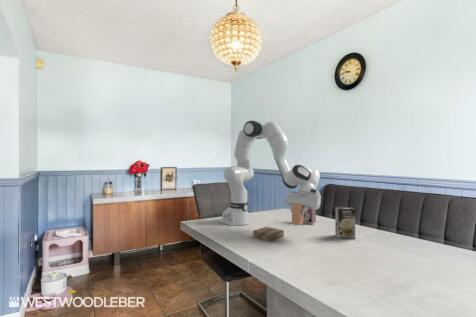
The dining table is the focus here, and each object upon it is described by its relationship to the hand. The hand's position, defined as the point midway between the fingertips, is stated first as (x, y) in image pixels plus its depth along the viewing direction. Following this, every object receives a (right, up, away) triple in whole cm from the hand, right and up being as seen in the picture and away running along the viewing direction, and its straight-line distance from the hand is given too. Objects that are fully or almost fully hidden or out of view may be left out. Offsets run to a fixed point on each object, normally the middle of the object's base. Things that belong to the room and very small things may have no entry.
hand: (297, 212), depth 143 cm
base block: (-15, -15, +4) cm, 21 cm away
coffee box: (+27, -14, +3) cm, 31 cm away
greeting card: (+16, -14, +36) cm, 42 cm away
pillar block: (0, -6, 0) cm, 6 cm away
